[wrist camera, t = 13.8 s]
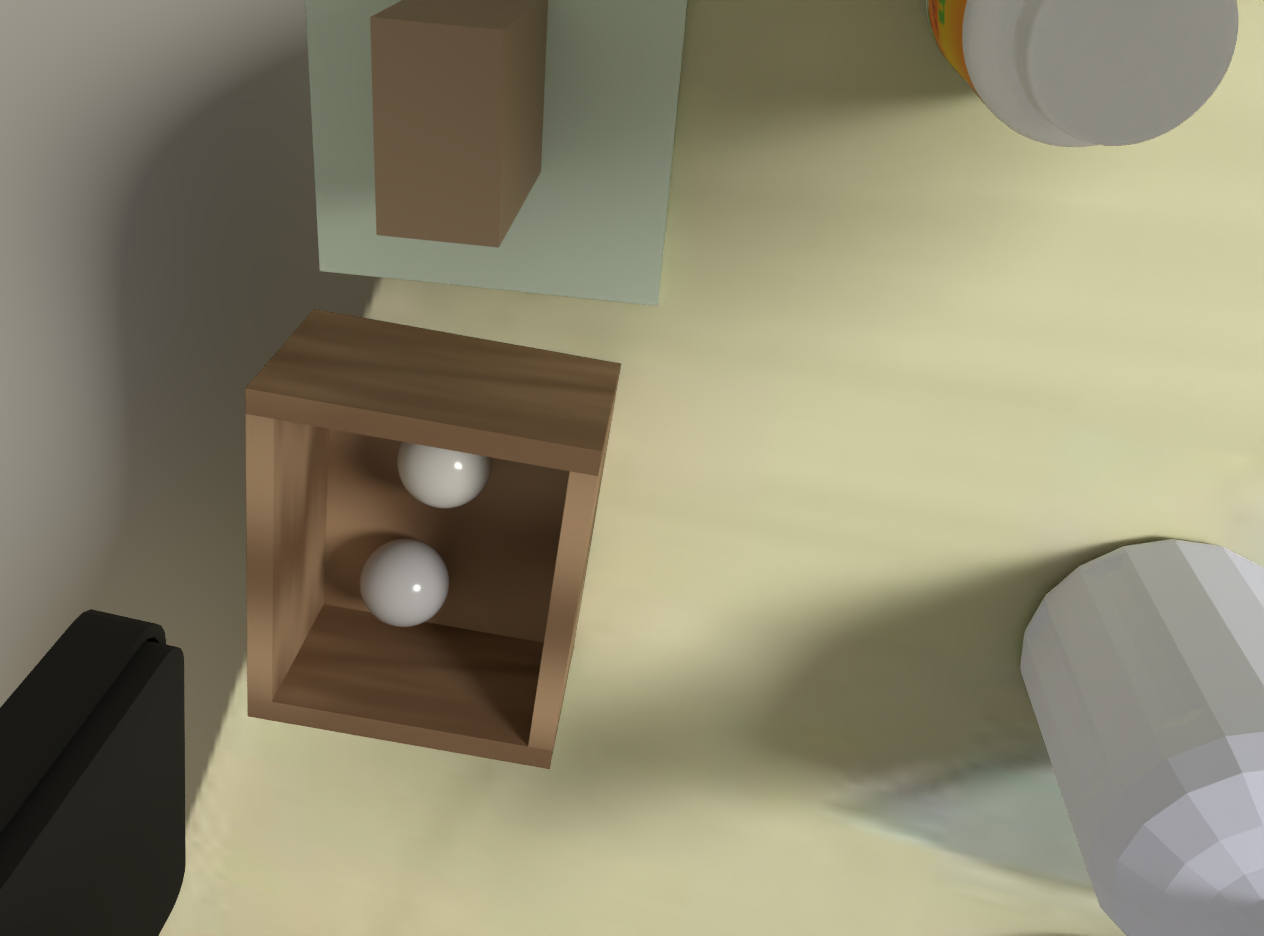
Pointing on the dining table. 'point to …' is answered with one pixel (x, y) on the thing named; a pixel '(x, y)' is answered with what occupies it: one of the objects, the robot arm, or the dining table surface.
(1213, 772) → the soap bottle
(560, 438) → the box
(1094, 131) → the supplement bottle
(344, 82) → the lid
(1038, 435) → the dining table surface
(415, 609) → the pebble
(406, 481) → the white ball
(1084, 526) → the dining table surface
